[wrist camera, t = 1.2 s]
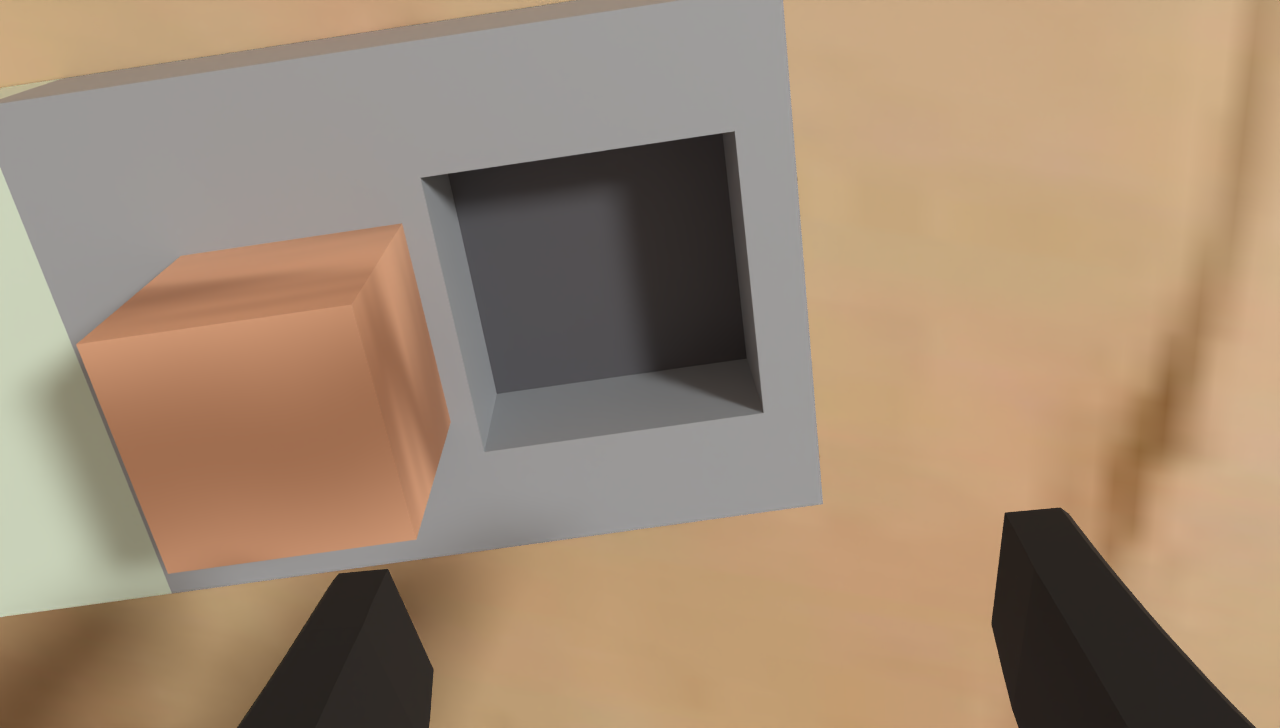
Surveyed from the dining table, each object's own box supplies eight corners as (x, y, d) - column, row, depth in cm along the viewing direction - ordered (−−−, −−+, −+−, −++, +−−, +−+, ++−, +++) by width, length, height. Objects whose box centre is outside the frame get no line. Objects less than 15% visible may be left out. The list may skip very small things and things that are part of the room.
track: (797, 434, 24) (822, 503, 21) (-297, 586, 24) (-411, 673, 22) (756, -28, 20) (781, -16, 17) (-559, 172, 20) (-738, 215, 18)
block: (451, 422, 20) (416, 539, 16) (247, 450, 20) (168, 573, 16) (401, 223, 18) (351, 304, 15) (180, 256, 18) (76, 344, 15)
